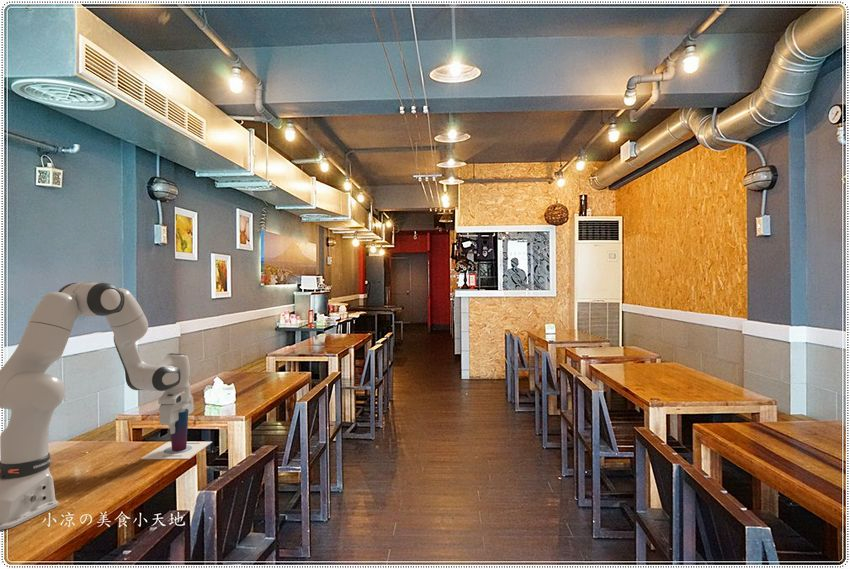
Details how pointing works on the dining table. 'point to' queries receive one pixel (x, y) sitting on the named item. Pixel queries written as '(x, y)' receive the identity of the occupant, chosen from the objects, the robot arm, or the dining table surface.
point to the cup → (180, 432)
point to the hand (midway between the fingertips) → (178, 430)
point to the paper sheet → (167, 452)
